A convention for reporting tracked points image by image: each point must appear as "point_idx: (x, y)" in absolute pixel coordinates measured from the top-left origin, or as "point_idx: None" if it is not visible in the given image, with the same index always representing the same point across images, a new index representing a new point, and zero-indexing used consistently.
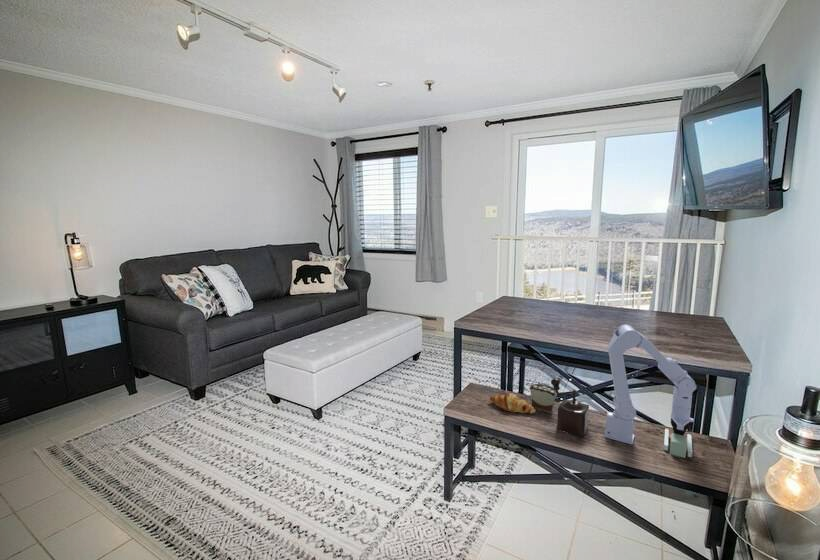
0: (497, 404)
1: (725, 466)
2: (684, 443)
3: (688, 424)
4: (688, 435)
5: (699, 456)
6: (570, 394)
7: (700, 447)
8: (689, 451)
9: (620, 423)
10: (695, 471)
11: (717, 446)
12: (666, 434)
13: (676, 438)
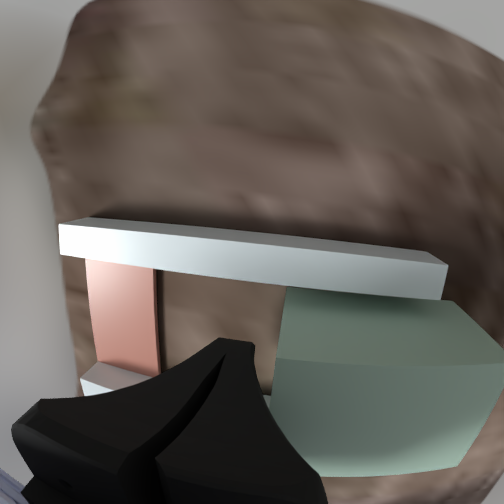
0: None
1: (428, 25)
2: (490, 383)
3: (128, 463)
4: (80, 248)
5: (376, 181)
6: None
7: (181, 149)
8: (442, 290)
9: None
10: None
11: (105, 42)
12: None
13: (392, 447)
